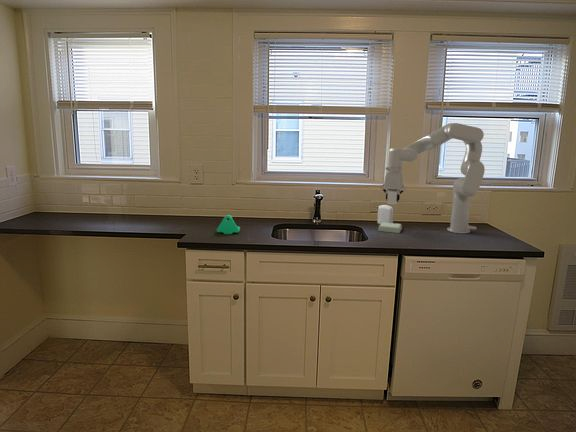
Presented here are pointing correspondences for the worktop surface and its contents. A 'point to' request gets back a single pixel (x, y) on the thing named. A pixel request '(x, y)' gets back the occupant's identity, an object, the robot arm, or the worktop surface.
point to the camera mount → (228, 226)
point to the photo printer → (385, 214)
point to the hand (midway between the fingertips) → (392, 200)
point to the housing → (392, 197)
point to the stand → (390, 227)
